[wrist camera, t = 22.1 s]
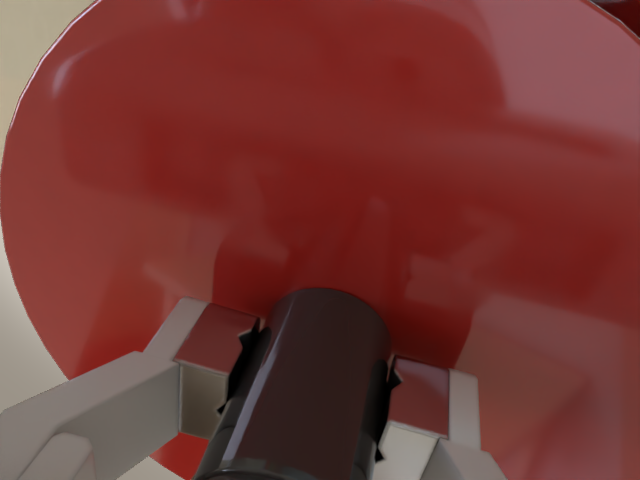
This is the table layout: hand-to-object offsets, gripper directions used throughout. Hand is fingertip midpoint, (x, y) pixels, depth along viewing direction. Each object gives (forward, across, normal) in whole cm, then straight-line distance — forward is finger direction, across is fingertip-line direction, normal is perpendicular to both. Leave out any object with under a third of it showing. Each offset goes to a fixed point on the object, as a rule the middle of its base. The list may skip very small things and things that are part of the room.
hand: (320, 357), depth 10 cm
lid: (+1, 0, 0) cm, 1 cm away
